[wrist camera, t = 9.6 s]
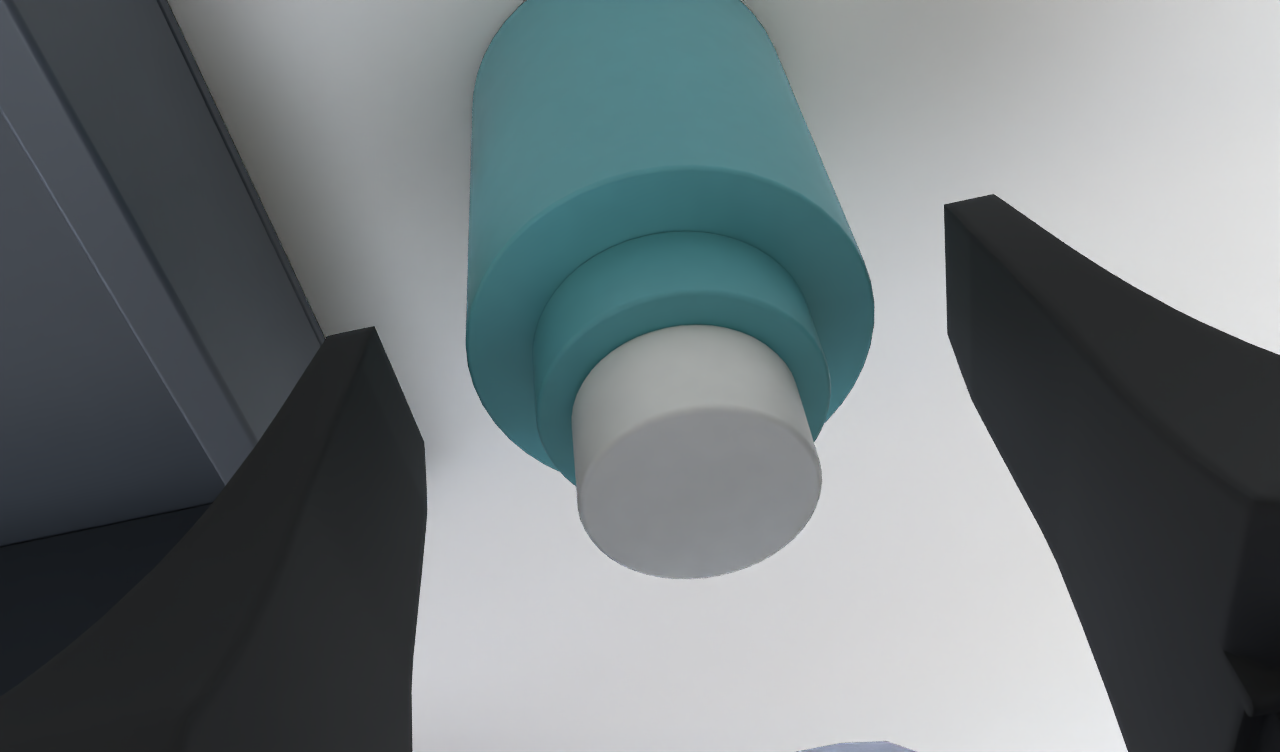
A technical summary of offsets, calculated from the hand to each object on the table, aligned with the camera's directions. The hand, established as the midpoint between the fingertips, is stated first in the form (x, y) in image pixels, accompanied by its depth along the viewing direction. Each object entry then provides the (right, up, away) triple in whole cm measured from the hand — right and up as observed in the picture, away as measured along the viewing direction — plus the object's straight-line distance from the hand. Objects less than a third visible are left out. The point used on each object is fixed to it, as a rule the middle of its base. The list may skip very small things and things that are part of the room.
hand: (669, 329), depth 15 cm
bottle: (-1, +4, +4) cm, 6 cm away
